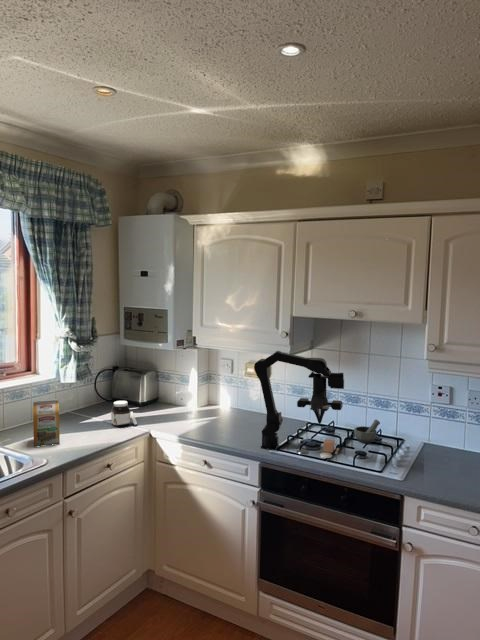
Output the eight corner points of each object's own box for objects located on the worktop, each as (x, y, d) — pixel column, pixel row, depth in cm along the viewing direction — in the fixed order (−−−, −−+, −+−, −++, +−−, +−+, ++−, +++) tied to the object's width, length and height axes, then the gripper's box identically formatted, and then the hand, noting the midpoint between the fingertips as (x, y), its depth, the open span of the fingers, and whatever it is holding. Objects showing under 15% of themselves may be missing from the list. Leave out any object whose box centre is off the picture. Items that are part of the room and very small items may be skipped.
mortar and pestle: (352, 446, 219) (353, 420, 218) (354, 439, 228) (355, 414, 227) (378, 449, 216) (379, 423, 215) (379, 442, 225) (380, 417, 223)
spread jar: (109, 424, 247) (108, 401, 246) (129, 419, 254) (129, 398, 253) (120, 429, 238) (120, 406, 237) (140, 425, 245) (140, 402, 244)
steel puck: (295, 456, 206) (295, 452, 206) (298, 452, 210) (298, 449, 210) (307, 458, 204) (307, 454, 204) (309, 454, 209) (309, 450, 209)
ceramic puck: (318, 460, 202) (319, 456, 202) (321, 455, 207) (321, 452, 207) (330, 461, 201) (331, 458, 201) (333, 457, 205) (333, 453, 205)
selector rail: (295, 451, 212) (295, 447, 212) (298, 446, 218) (298, 443, 217) (336, 457, 206) (337, 453, 206) (339, 452, 211) (339, 448, 211)
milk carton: (33, 447, 213) (32, 404, 211) (34, 439, 222) (33, 398, 221) (59, 444, 217) (58, 402, 215) (58, 436, 226) (58, 396, 225)
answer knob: (323, 451, 209) (323, 442, 208) (325, 448, 212) (325, 439, 212) (332, 452, 207) (333, 443, 207) (334, 449, 211) (334, 440, 211)
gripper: (293, 390, 205) (294, 426, 206) (338, 393, 198) (338, 431, 200) (299, 385, 215) (300, 419, 216) (342, 387, 209) (342, 423, 210)
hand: (319, 423), depth 210 cm, fingers closed
